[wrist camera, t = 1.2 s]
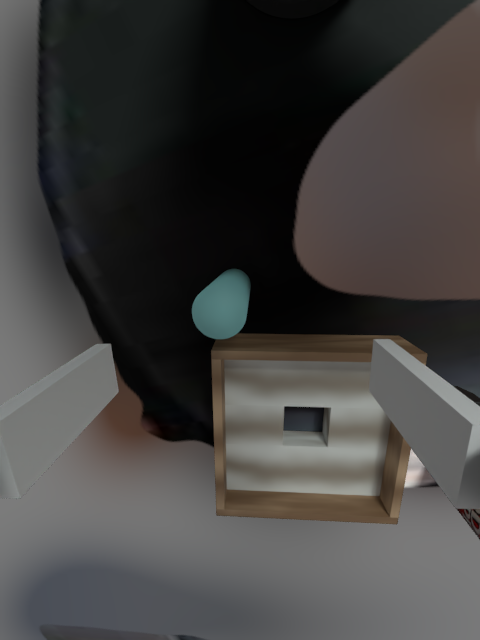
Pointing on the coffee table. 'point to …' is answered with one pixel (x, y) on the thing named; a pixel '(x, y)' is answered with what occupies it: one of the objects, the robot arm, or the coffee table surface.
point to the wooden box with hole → (303, 446)
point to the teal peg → (223, 305)
